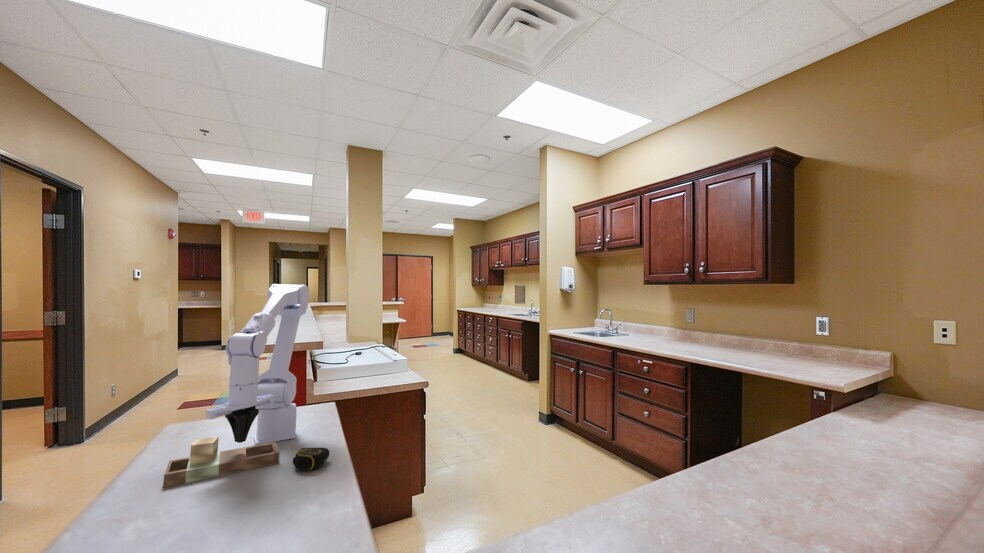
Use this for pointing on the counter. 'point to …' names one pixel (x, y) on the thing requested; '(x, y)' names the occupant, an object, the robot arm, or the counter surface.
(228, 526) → the counter surface
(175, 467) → the frame
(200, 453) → the beech block
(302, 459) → the tape measure
